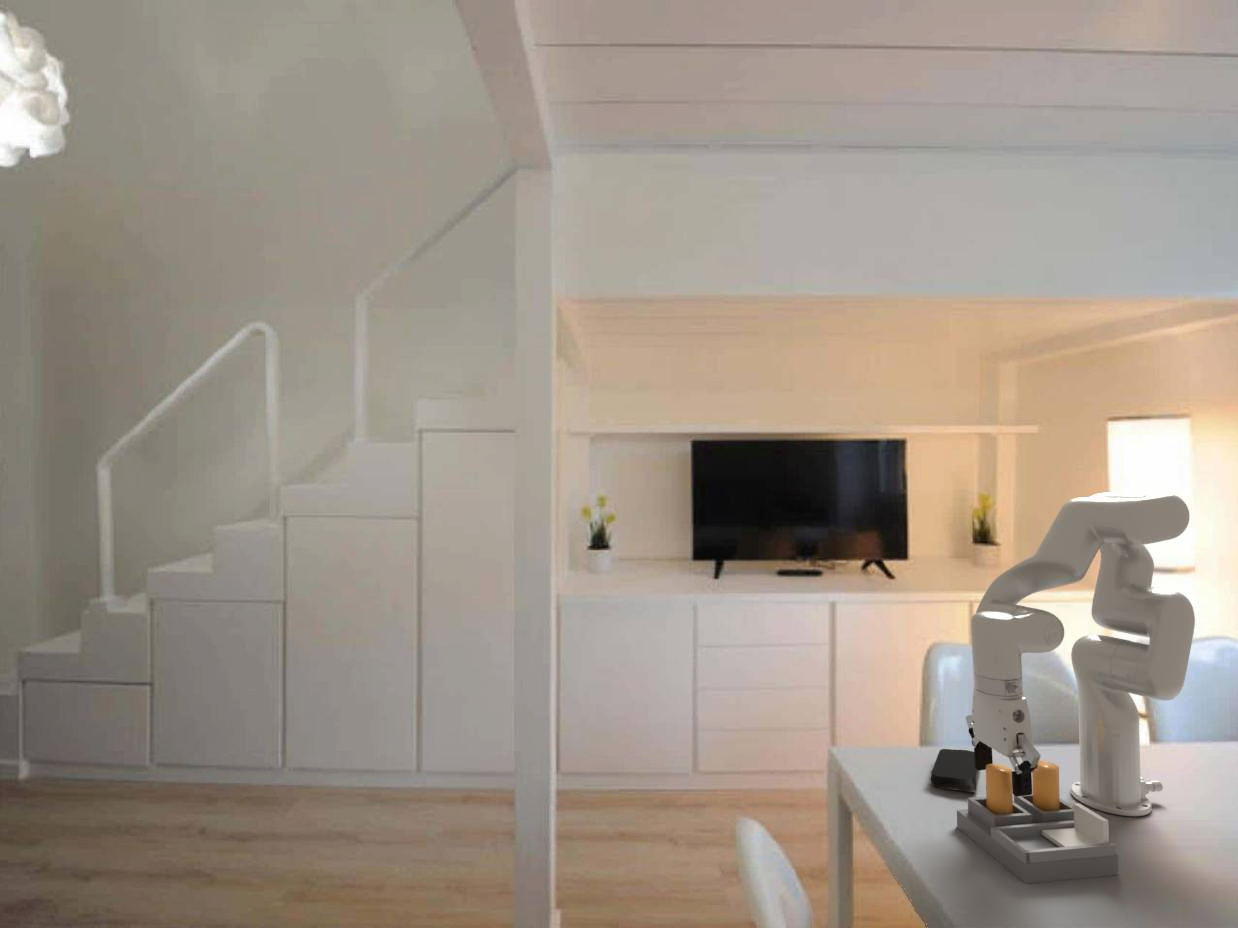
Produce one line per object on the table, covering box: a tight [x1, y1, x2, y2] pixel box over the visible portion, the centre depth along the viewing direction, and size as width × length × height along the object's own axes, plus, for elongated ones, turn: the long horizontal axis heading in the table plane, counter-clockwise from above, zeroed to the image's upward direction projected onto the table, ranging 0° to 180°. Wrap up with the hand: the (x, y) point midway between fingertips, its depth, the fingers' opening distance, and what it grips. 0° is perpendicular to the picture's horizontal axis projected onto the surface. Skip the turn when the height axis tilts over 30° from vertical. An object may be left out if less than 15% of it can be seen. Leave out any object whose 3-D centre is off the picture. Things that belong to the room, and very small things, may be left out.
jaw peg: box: [985, 763, 1014, 815], centre depth 117 cm, size 4×4×9 cm
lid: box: [1042, 802, 1110, 847], centre depth 110 cm, size 7×6×5 cm
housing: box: [956, 760, 1119, 884], centre depth 114 cm, size 18×17×12 cm
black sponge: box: [929, 748, 981, 793], centre depth 141 cm, size 16×8×4 cm, turn 148°
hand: (1002, 781), depth 118 cm, fingers open, 9 cm apart
